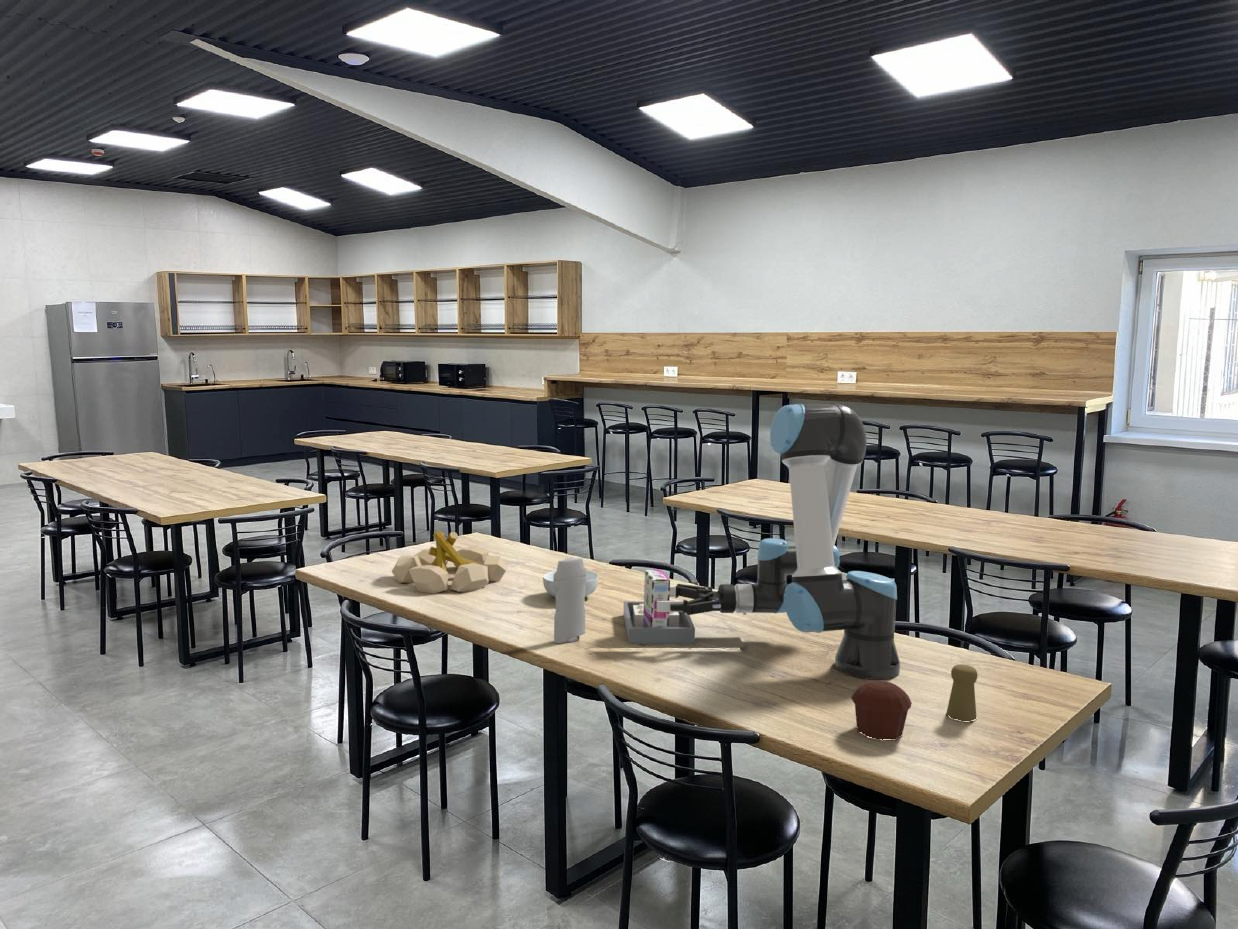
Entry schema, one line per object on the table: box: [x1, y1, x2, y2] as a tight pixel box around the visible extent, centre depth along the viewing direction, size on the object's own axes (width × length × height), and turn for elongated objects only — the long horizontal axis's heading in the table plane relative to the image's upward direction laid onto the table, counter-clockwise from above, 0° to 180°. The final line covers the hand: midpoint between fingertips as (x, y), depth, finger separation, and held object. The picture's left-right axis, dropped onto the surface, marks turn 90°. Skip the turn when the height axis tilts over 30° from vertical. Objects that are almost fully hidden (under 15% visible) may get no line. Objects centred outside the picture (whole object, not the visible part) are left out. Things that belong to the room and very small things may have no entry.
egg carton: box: [633, 604, 679, 627], centre depth 243 cm, size 9×12×5 cm
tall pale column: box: [553, 556, 588, 645], centre depth 230 cm, size 11×4×22 cm, turn 129°
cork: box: [946, 664, 978, 721], centre depth 186 cm, size 6×6×11 cm
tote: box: [622, 600, 696, 645], centre depth 238 cm, size 24×17×5 cm
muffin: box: [850, 680, 913, 740], centre depth 178 cm, size 12×11×10 cm
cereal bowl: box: [542, 569, 600, 598], centre depth 269 cm, size 17×17×7 cm
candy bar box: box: [643, 569, 671, 627], centre depth 232 cm, size 11×5×16 cm, turn 9°
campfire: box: [391, 530, 508, 594], centre depth 287 cm, size 35×34×17 cm
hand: (653, 598), depth 231 cm, fingers open, 13 cm apart
